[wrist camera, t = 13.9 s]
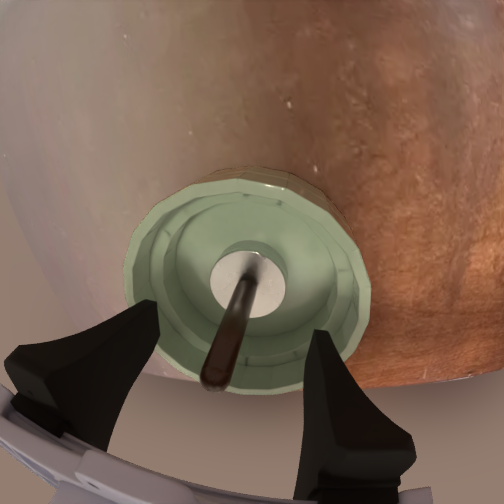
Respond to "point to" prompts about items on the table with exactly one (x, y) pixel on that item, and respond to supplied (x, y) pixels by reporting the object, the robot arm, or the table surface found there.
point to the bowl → (257, 229)
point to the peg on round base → (241, 303)
